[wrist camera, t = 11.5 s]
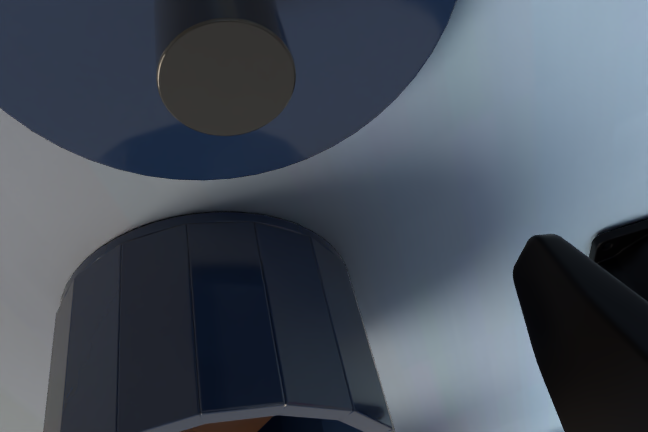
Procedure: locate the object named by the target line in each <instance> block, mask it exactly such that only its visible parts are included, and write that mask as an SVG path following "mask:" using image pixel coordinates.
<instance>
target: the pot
mask: <svg viewBox="0 0 648 432" xmlns="http://www.w3.org/2000/svg"><path fill="white" fill-rule="evenodd" d="M269 416H273V417H272V418H271V419H270V420H269V421H268V422H267V423H266V424H265V425H264V426H263V427H262V428H261V429H260V430H259V431H258V432H395V428H394V425H393V422H392V418H391V415H390V411H389V408H388V405H387V401H386V398H385V394H384V391H383V388H382V384H381V381H380V377H379V374H378V371H377V367H376V364H375V360H374V357H373V354H372V350H371V347H370V343H369V340H368V337H367V333H366V330H365V326H364V323H363V320H362V316H361V313H360V309H359V306H358V303H357V299H356V296H355V293H354V290H353V286H352V283H351V280H350V277H349V274H348V270H347V268H346V265H345V263H344V261H343V259H342V258H341V256H340V255H339V254H338V252H337V251H336V250H335V249H334V248H333V247H332V246H331V245H330V244H329V243H328V242H327V241H326V240H325V239H323V238H322V237H320V236H319V235H317V234H316V233H314V232H313V231H311V230H309V229H306V228H304V227H302V226H300V225H298V224H295V223H292V222H289V221H286V220H283V219H280V218H276V217H271V216H266V215H262V214H253V213H244V212H209V213H196V214H190V215H184V216H178V217H173V218H169V219H165V220H161V221H158V222H154V223H151V224H148V225H145V226H143V227H140V228H137V229H134V230H132V231H130V232H128V233H126V234H124V235H122V236H119V237H117V238H115V239H114V240H112V241H110V242H109V243H107V244H106V245H104V246H102V247H101V248H99V249H98V250H97V251H95V252H94V253H93V254H92V255H91V256H89V257H88V258H87V259H86V260H85V261H84V262H83V263H82V264H81V265H80V266H79V267H78V268H77V270H76V271H75V272H74V273H73V275H72V276H71V278H70V280H69V281H68V283H67V284H66V286H65V289H64V292H63V294H62V297H61V304H60V307H59V309H58V311H57V313H56V319H55V328H54V337H53V346H52V356H51V365H50V374H49V383H48V392H47V401H46V410H45V420H44V429H43V432H180V431H184V430H187V429H190V428H194V427H197V426H200V425H204V424H209V423H217V422H226V421H235V420H243V419H252V418H260V417H269Z"/></svg>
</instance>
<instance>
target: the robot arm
mask: <svg viewBox="0 0 648 432" xmlns="http://www.w3.org/2000/svg"><path fill="white" fill-rule="evenodd" d="M513 280H514V284H515V288H516V291H517V295H518V298H519V302H520V305H521V309H522V312H523V316H524V320H525V323H526V327H527V330H528V334H529V337H530V341H531V344H532V348H533V351H534V354H535V357H536V361H537V364H538V366H539V369H540V372H541V374H542V377H543V379H544V382H545V384H546V387H547V389H548V392H549V394H550V397H551V399H552V402H553V404H554V407H555V409H556V412H557V414H558V417H559V419H560V421H561V424H562V426H563V429H564V431H565V432H648V220H645V221H642V222H638V223H635V224H632V225H628V226H625V227H622V228H618V229H615V230H612V231H608V232H605V233H602V234H600V235H598V236H597V237H596V238H595V239H594V240H593V241H592V245H591V250H590V255H589V257H587V256H586V255H585V254H583V253H582V252H580V251H579V250H578V249H576V248H575V247H574V246H572V245H571V244H570V243H568V242H567V241H566V240H564V239H563V238H562V237H560V236H558V235H555V234H545V235H535V236H532V237H531V238H530V239H529V240H528V241H527V243H526V245H525V247H524V249H523V251H522V252H521V254H520V256H519V258H518V260H517V262H516V264H515V266H514V269H513Z"/></svg>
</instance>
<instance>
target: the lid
mask: <svg viewBox="0 0 648 432" xmlns="http://www.w3.org/2000/svg"><path fill="white" fill-rule="evenodd" d="M456 2H457V0H0V108H1V109H2V110H3V111H5V112H6V113H7V114H9V115H10V116H12V117H13V118H14V119H16V120H17V121H19V122H20V123H22V124H23V125H24V126H26V127H27V128H29V129H30V130H31V131H33V132H35V133H36V134H38V135H40V136H42V137H43V138H45V139H47V140H49V141H51V142H52V143H54V144H56V145H58V146H59V147H61V148H64V149H66V150H68V151H70V152H73V153H75V154H77V155H79V156H82V157H84V158H86V159H88V160H91V161H94V162H97V163H100V164H103V165H106V166H109V167H112V168H115V169H119V170H123V171H128V172H132V173H136V174H141V175H145V176H152V177H160V178H168V179H178V180H216V179H231V178H237V177H244V176H250V175H256V174H260V173H264V172H268V171H272V170H276V169H280V168H283V167H286V166H289V165H292V164H294V163H297V162H300V161H303V160H305V159H308V158H310V157H312V156H314V155H316V154H319V153H321V152H323V151H325V150H327V149H329V148H331V147H333V146H335V145H336V144H338V143H339V142H341V141H343V140H344V139H346V138H348V137H349V136H351V135H353V134H354V133H356V132H357V131H358V130H360V129H361V128H362V127H364V126H365V125H366V124H368V123H369V122H370V121H372V120H373V119H374V118H376V117H377V116H378V115H379V114H380V113H381V112H382V111H383V110H384V109H385V108H387V107H388V106H389V105H390V104H391V103H392V102H393V101H394V100H395V99H396V98H397V97H398V96H399V95H400V94H401V93H402V91H403V90H404V89H405V88H406V87H407V86H408V85H409V83H410V82H411V81H412V80H413V79H414V78H415V76H416V75H417V74H418V72H419V71H420V69H421V68H422V66H423V65H424V64H425V62H426V61H427V59H428V58H429V56H430V55H431V53H432V52H433V50H434V48H435V46H436V45H437V43H438V41H439V39H440V37H441V35H442V34H443V32H444V30H445V28H446V26H447V24H448V21H449V19H450V16H451V14H452V11H453V9H454V7H455V4H456Z"/></svg>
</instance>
